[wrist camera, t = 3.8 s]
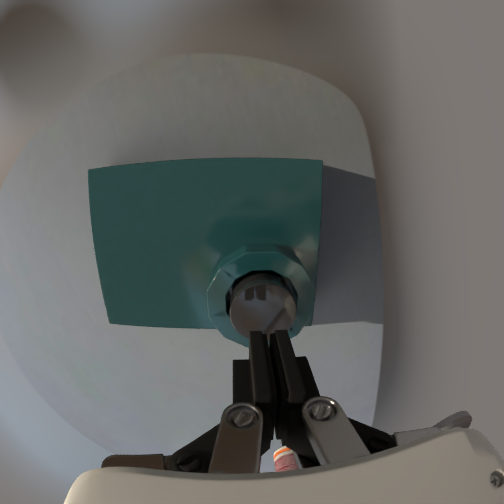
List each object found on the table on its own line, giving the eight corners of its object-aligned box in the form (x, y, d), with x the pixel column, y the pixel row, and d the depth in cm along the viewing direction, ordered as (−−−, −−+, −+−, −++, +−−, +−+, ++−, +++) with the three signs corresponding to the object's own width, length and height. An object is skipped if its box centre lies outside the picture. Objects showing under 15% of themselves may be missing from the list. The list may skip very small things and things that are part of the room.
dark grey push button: (293, 271, 17) (299, 282, 15) (289, 326, 18) (294, 340, 17) (229, 272, 17) (228, 283, 15) (231, 327, 18) (230, 342, 16)
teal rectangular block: (310, 161, 20) (332, 159, 15) (302, 311, 23) (316, 344, 18) (107, 168, 19) (74, 170, 14) (123, 310, 22) (102, 340, 18)
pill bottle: (267, 457, 30) (273, 505, 22) (282, 442, 29) (290, 493, 21) (297, 460, 31) (306, 504, 23) (313, 444, 30) (325, 492, 22)
